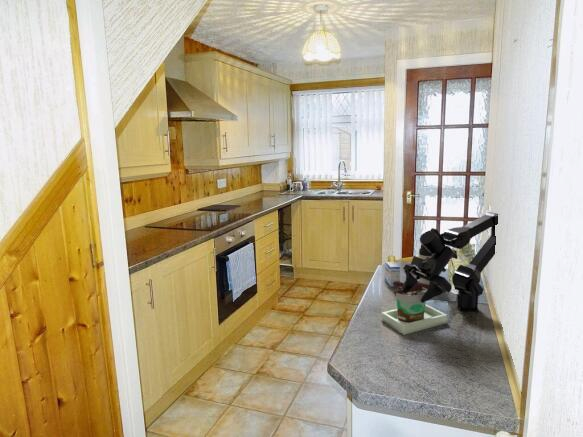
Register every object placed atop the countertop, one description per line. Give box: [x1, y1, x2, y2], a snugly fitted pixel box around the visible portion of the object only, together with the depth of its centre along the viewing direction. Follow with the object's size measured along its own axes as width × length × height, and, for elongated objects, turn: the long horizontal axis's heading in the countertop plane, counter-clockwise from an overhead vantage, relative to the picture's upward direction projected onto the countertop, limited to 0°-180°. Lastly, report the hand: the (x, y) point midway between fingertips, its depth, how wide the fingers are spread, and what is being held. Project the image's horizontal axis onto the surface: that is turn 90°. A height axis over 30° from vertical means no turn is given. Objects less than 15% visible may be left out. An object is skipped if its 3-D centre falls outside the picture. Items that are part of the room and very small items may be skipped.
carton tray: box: [381, 303, 448, 335], centre depth 144 cm, size 18×12×3 cm, turn 114°
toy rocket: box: [393, 281, 429, 296], centre depth 168 cm, size 7×7×15 cm
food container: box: [394, 287, 427, 323], centre depth 143 cm, size 12×6×10 cm, turn 114°
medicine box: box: [384, 261, 401, 287], centre depth 182 cm, size 8×4×9 cm, turn 5°
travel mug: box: [418, 241, 433, 285], centre depth 179 cm, size 8×8×18 cm
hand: (412, 297), depth 143 cm, fingers open, 9 cm apart
